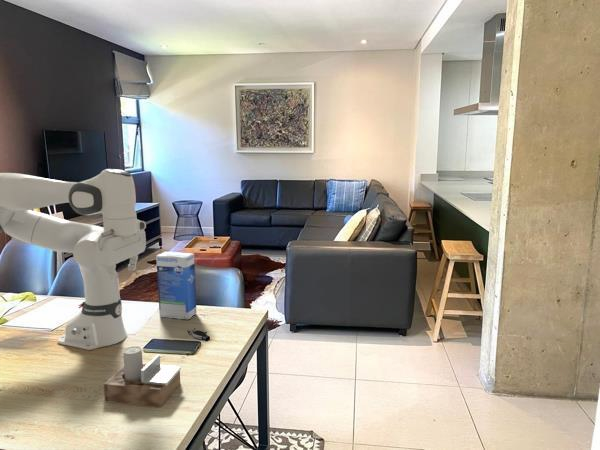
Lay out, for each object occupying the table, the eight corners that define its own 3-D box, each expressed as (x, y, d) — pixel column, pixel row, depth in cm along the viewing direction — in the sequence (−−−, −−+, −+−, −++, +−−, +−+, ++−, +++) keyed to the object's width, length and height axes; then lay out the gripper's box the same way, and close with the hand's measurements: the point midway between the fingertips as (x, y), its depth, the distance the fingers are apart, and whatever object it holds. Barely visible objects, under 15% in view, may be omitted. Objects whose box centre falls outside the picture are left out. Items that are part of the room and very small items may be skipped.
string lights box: (197, 314, 180) (195, 253, 176) (188, 321, 173) (186, 257, 168) (168, 311, 183) (165, 251, 179) (158, 317, 176) (155, 255, 171)
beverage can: (128, 386, 125) (126, 346, 123) (145, 385, 125) (143, 345, 123) (123, 395, 120) (120, 354, 118) (141, 394, 120) (139, 353, 118)
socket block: (105, 401, 117) (103, 383, 117) (129, 378, 129) (128, 362, 128) (161, 407, 115) (160, 389, 114) (180, 383, 127) (179, 367, 126)
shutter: (141, 383, 117) (140, 370, 116) (157, 367, 125) (157, 354, 125) (166, 385, 115) (165, 372, 115) (180, 369, 124) (180, 356, 124)
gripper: (109, 234, 113) (113, 285, 115) (148, 221, 133) (150, 266, 135) (87, 233, 114) (91, 284, 116) (129, 221, 134) (131, 265, 136)
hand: (123, 274), depth 126 cm, fingers open, 8 cm apart
